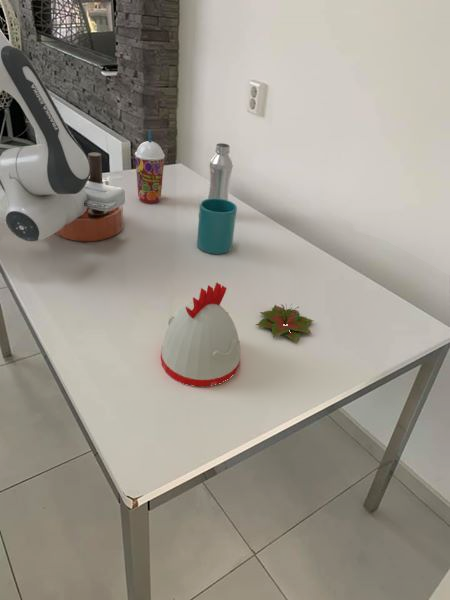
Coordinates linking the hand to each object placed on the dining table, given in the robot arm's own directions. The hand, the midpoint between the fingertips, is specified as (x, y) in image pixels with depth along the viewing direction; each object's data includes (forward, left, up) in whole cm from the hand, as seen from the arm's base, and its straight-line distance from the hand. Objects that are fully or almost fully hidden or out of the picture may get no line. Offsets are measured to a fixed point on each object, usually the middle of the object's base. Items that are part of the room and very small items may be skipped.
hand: (97, 181), depth 112 cm
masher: (0, -1, -9) cm, 9 cm away
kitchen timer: (+26, -51, -12) cm, 58 cm away
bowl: (-3, -2, -12) cm, 12 cm away
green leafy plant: (+43, -40, -12) cm, 60 cm away
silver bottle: (+31, +12, -12) cm, 36 cm away
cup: (+29, -7, -12) cm, 32 cm away
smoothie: (+11, +19, -12) cm, 25 cm away
